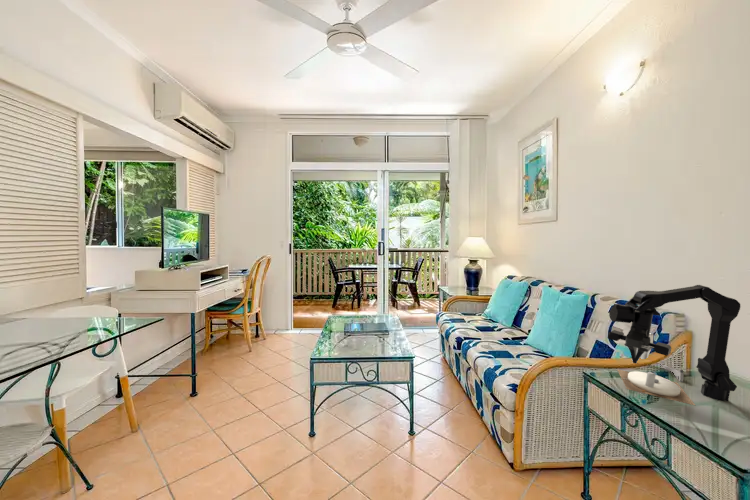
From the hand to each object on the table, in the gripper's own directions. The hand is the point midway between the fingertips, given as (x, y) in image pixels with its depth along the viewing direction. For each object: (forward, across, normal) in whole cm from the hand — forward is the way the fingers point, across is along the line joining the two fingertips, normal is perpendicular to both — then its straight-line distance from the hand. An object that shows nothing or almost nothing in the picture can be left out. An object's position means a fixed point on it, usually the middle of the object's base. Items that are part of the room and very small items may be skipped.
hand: (634, 363), depth 130 cm
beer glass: (+10, -4, +33) cm, 35 cm away
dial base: (+10, +5, +7) cm, 14 cm away
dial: (+9, +5, +7) cm, 12 cm away
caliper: (+11, +7, +32) cm, 34 cm away
